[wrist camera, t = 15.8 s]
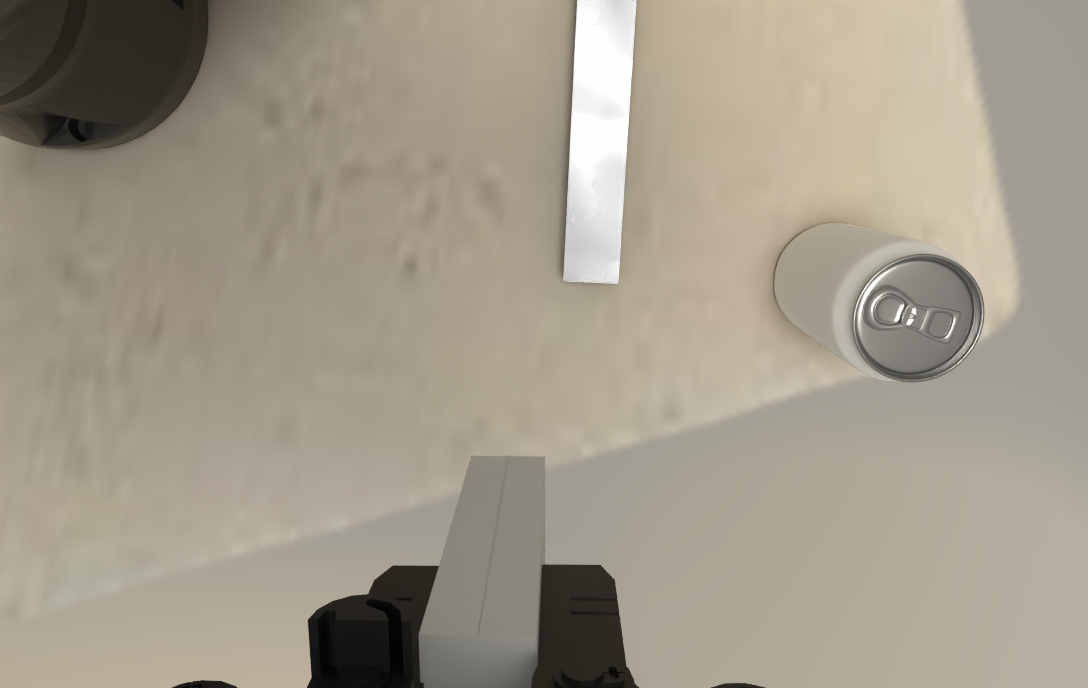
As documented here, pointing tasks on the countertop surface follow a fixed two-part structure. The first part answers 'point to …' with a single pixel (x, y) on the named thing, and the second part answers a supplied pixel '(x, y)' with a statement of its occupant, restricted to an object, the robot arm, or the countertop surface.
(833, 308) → the can
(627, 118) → the rail
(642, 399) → the countertop surface
